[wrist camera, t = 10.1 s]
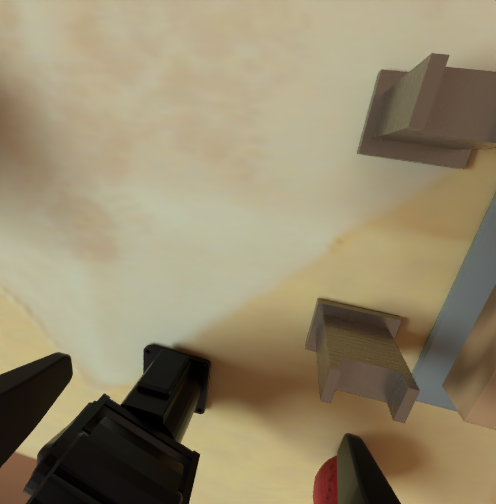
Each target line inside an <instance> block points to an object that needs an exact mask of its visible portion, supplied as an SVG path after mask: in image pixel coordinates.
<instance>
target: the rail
mask: <svg viewBox="0 0 496 504" xmlns="http://www.w3.org/2000/svg"><path fill="white" fill-rule="evenodd" d="M442 387H443V388H444V390H445V392H446V393H447V395H448V396H449V398H450V400H451V401H452V403H453V405H454V406H455V408H456V409H457V411H458V413H459V414H460V416H461V417H462V419H463V421H464V422H468V423H472V424H476V425H479V426H483V427H487V428H491V429H495V430H496V284H495V286H494V288H493V290H492V292H491V293H490V295H489V297H488V299H487V301H486V303H485V305H484V307H483V309H482V310H481V312H480V314H479V316H478V318H477V320H476V322H475V324H474V326H473V327H472V329H471V331H470V333H469V335H468V337H467V339H466V341H465V343H464V344H463V346H462V348H461V350H460V352H459V354H458V356H457V358H456V360H455V361H454V363H453V365H452V367H451V369H450V371H449V373H448V375H447V377H446V378H445V380H444V382H443V384H442Z"/></svg>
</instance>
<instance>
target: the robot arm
mask: <svg viewBox="0 0 496 504" xmlns="http://www.w3.org/2000/svg"><path fill="white" fill-rule="evenodd" d="M149 350H150V351H149ZM205 365H206V366H205ZM210 368H211V363H210V362H209V361H208V360H206V359H203V358H199V357H195V356H191V355H187V354H184V353H180V352H176V351H172V350H168V349H165V348H161V347H157V346H153V345H147V346H146V347H145V348H144V368H143V375H142V377H141V378H140V379H139V381H138V382H137V383H136V385H135V386H134V387H133V389H132V390H131V391H130V393H129V394H128V395H127V397H126V398H125V399H124V401H123V402H122V403H121V405H119V404H118V403H116V402H114V401H113V400H111V399H110V397H109V396H108V395H106V394H103V395H102V396H101V398H100V399H99V400H98V401H97V402H96V401H94V402H93V403H88V405H87V406H86V407H85V408H84V409H83V410H82V411H81V413H80V414H79V415H78V416H77V417H76V418H75V419H74V420H73V421H72V422H71V423H70V424H69V425H68V426H67V427H66V428H64V429H63V430H62V431H61V432H60V433H58V434H57V435H56V436H55V437H54V438H53V439H51V440H50V441H49V442H48V443H47V444H46V445H45V446H44V447H43V448H42V449H41V450H40V451H39V453H38V455H37V467H36V468H35V470H34V471H33V473H32V475H31V476H32V477H31V478H30V480H29V482H28V483H27V485H26V486H25V488H24V490H23V493H24V494H25V495H27V496H29V497H30V499H29V500H28V502H27V503H26V504H189V501H190V497H191V492H192V488H193V483H194V479H195V475H196V470H197V466H198V461H199V457H200V454H199V453H197V452H196V451H192V450H190V449H188V448H187V447H185V446H184V445H182V444H181V441H182V438H183V436H184V434H185V431H186V429H187V427H188V425H189V422H190V420H191V418H192V415H193V413H194V412H195V413H198V414H203V413H204V411H205V409H206V402H207V393H208V385H209V376H210ZM72 375H73V370H72V362H71V357H70V355H68V354H64V353H60V352H57V353H54V354H51V355H49V356H46V357H44V358H41V359H39V360H36V361H34V362H31V363H28V364H26V365H23V366H21V367H18V368H16V369H13V370H11V371H8V372H6V373H3V374H1V375H0V468H1V466H2V465H3V464H4V463H5V462H6V461H7V460H8V458H9V457H10V456H11V455H12V454H13V453H14V452H15V450H16V449H17V448H18V447H19V446H20V445H21V444H22V442H23V441H24V440H25V439H26V438H27V437H28V435H29V434H30V433H31V432H32V431H33V430H34V428H35V427H36V426H37V425H38V423H39V422H40V421H41V419H42V418H43V417H44V415H45V414H46V413H47V411H48V410H49V409H50V407H51V406H52V405H53V403H54V402H55V401H56V399H57V398H58V397H59V395H60V394H61V393H62V391H63V390H64V389H65V387H66V386H67V384H68V383H69V382H70V380H71V378H72ZM337 487H338V504H401V503H400V501H399V500H398V498H397V496H396V495H395V493H394V491H393V490H392V488H391V486H390V485H389V483H388V481H387V480H386V478H385V476H384V475H383V473H382V471H381V470H380V468H379V467H378V465H377V463H376V462H375V460H374V458H373V457H372V455H371V453H370V452H369V450H368V448H367V447H366V445H365V443H364V442H363V440H362V439H361V438H360V437H359V436H356V435H352V434H349V433H346V434H345V435H344V437H343V440H342V442H341V445H340V447H339V450H338V454H337Z"/></svg>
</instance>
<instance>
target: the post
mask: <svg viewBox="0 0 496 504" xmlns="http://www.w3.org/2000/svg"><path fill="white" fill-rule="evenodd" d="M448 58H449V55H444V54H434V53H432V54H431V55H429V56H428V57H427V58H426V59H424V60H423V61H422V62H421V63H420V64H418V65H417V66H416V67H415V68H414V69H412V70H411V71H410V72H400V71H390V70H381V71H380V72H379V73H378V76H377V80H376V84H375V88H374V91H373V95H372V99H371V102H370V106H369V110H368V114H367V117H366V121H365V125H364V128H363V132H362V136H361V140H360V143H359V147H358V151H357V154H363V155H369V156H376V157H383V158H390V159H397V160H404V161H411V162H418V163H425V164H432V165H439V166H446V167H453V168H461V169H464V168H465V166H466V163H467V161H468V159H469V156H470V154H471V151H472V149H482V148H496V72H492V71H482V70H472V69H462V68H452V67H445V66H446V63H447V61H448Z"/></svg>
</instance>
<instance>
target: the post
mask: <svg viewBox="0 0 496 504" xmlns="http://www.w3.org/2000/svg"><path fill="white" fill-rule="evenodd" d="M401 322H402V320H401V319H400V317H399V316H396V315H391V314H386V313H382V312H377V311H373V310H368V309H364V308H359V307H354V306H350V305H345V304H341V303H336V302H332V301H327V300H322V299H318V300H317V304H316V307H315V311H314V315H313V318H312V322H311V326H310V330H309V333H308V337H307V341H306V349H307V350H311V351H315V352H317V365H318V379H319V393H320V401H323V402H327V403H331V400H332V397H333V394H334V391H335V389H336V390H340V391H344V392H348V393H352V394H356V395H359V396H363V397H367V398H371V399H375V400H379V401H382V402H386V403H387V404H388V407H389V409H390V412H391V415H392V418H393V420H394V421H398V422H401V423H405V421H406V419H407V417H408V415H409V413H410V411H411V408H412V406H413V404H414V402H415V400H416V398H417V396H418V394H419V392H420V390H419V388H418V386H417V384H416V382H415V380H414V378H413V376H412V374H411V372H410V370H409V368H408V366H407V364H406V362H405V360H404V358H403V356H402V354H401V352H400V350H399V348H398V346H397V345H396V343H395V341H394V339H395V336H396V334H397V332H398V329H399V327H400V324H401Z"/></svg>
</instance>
